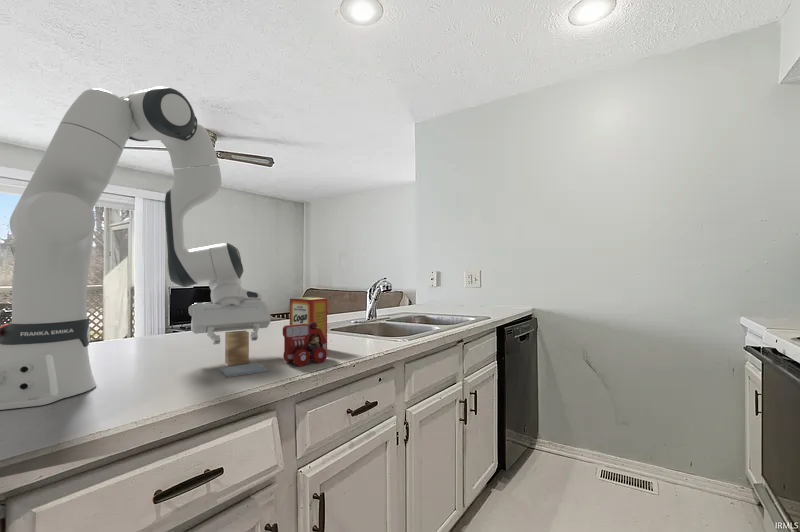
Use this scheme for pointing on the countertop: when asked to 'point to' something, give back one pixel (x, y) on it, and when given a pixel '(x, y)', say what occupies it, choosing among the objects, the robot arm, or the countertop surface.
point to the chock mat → (243, 369)
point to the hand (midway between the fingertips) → (236, 341)
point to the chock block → (236, 347)
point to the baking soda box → (309, 312)
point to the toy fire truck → (304, 344)
